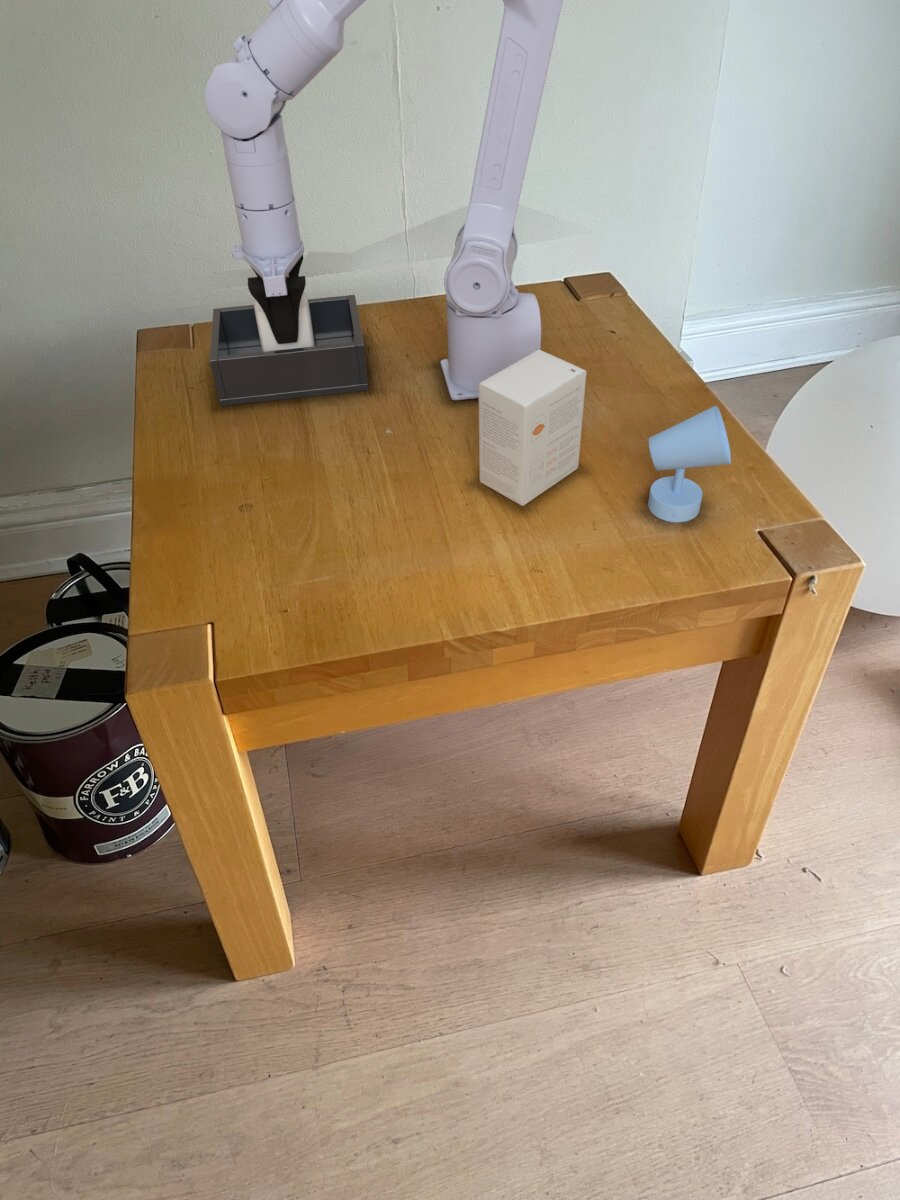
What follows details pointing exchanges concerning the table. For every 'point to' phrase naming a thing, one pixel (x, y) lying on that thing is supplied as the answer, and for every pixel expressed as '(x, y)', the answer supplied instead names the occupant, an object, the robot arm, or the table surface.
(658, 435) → the spotlight
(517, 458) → the small box
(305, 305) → the eye dropper bottle
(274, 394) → the open rectangular box
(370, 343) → the table surface
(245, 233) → the robot arm
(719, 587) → the table surface
